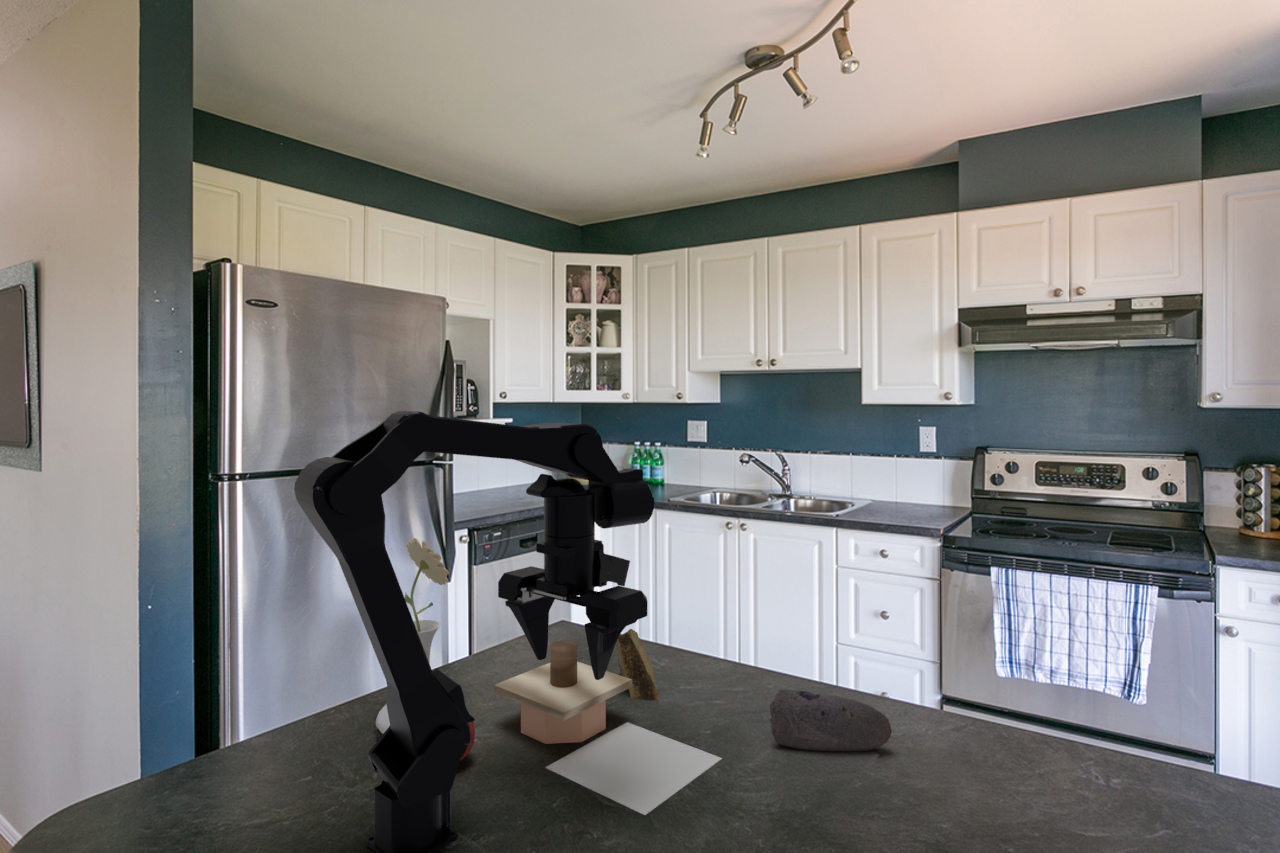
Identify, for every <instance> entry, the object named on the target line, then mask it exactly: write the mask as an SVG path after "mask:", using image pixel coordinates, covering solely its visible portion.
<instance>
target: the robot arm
mask: <svg viewBox="0 0 1280 853" xmlns="http://www.w3.org/2000/svg"><path fill="white" fill-rule="evenodd" d="M423 453H439V454H446V455H448V454H449V455H457V456H458V455H459V456H470V457H471V456H472V457H481V458H493V459H494V458H495V459H506V460H513V461H514V460H515V461H516V462H517V461H518V462H519V463H520V462H521V463H523V464H525V465H529V466H532V467H536V468H539V469H542V470H546V471H549V472H555V473H559V474H560V473H562V474H564V475H566V476H567V477H569V478H564V479H562V478H561V479H555V478H554V477H553V475H551V474H546V473H540V474H539V476H538V478H537V479H536V480H535V481H534V482H532V483H531V484H530V486H528V487H527V488H526V489H525V492H526V495H529V496H532V497H539V498H543V530H544V531H543V541H541V542H536V545H535V546H536V548H535V549H536V551H535V552H536V553H539V554H543V559H544V561H543V563H544V564H543V568H540V567H538V566H527V567H523V568H518V569H515V570H510V571H507V572H503V574H502V576H501V577H500V579H499V580H498V582H497V585H498V586H497V589H498V590H497V591H498V592H497V593H498V595H497V596H498V598H500V599H504V600H506V601H505V602H504V604H505V606H506V607H508V608H509V609H510V611H511V612H512V614H513V616H514V617H515V619H516V621H517V622H518V624H519V626H520V627H521V630H522V631H523V633H524V635H525V636H526V639H527V642H528V643H529V645H530V648H531V649H532V652H533V653H534V655H535V657H536V659H537V660H538V661H543V660H545V659H546V658H547V654H548V647H549V645H548V644H549V622H550V620H549V619H550V618H549V617H550V610H551V609H552V606H553V604H554V602H555V600H557V601H561V602H565V603H568V604H573V605H576V606H580V607H584V608H585V615H586V617H587V619H588V620H589V621H590V622H587V623H584V630H585V635H586V642H587V648H588V653H589V654H588V655H589V659H590V660H589V661H590V666H592V670H593V674H594V677H595V679H596V680H600V679H602V678H603V677H604V675H605V672H606V671H608V670H607V669H608V666H609V664H610V661H611V658H612V655H613V652H614V650H615V646H616V643H617V640H618V638H619V636H620V635H622V632H623V631H624V630H625V628H626V627H628V626H630V625H633V624H635V623H636V622H638V620H640V619H643V618H645V617H648V598H647V595H646V594H645V593H644V592H643V591H642V590H639V589H635V588H631V587H630V588H629V587H625V585H626V580H627V576H628V573H629V567H630V563H631V560H629V559H625V558H622V557H618V556H614V555H612V554H608V553H607V554H606V553H605V552H604V550H605V549H604V547H605V546H604V543H603V541H602V540H599V539H596V538H595V536H596V534H595V532H596V530H595V526H596V525H597V527H599V528H601V529H610V528H611V529H612V528H619V527H625V526H626V527H627V526H633V525H640V524H645V523H647V522H648V521H649V520H650V519H651V517H652V515H653V513H654V509H655V498H654V497H653V493H652V490H651V486H650V485H649V484H648V482H647V481H646V480H645V479H644V477H643V475H644V470H643V469H642V468H633V467H631V468H630V467H629V468H623V469H621V470H618V468H617V467H616V465H615V464H614V462H613V461H612V459H611V457H610V456H609V454H608V453H607V451H606V449H605V448H604V443H603V440H602V436H601V435H600V434H599V432H598V429H597V428H596V427H595V426H593V425H589V424H587V423H572V422H571V423H569V422H544V423H543V422H542V423H534V424H532V423H531V424H526V425H525V424H523V425H514V424H513V425H511V424H503V423H495V422H494V423H493V422H487V421H481V420H478V421H477V420H471V419H463V418H453V417H448V416H447V417H446V416H445V417H444V416H438V415H430V414H427V413H425V412H422V411H418V410H398V411H396V412H392V413H391V414H390V415H389V416H387V418H386V419H384V420H382V422H381V423H379V424H378V425H377V426H375V427H374V428H372V429H371V430H369V431H368V432H366V433H365V434H363V435H361V436H359V437H358V438H356V439H354V440H353V441H351V442H350V443H348V444H347V445H345V446H344V447H342V448H341V449H340V450H339V451H337V452H336V453H335V454H334V455H332V456H326V457H320V458H316V459H314V460H313V461H311V462H309V463H307V464H306V466H305V467H303V469H302V470H301V471H300V473H299V474H298V476H297V478H296V480H295V481H294V494H295V498H296V502H297V503H298V505H299V507H300V508H301V509H302V510H303V513H304V514H305V516H306V517H307V518H308V520H309V522H310V523H311V524H312V526H313V527H314V529H315V531H316V532H317V533H318V535H319V536H320V537H321V539H322V540H323V541H324V542H325V544H326V546H328V548H329V550H330V551H331V552H332V553H333V555H335V557H336V559H337V561H338V563H339V566H340V569H341V571H342V573H343V576H344V578H345V581H346V583H347V586H348V588H349V591H350V593H351V596H352V598H353V601H354V603H355V605H356V608H357V612H358V613H359V616H360V618H361V622H362V624H363V626H364V628H365V631H366V633H367V636H368V638H369V641H370V644H371V646H372V649H373V651H374V653H375V656H376V659H377V661H378V664H379V666H380V669H381V671H382V674H383V677H384V678H385V680H386V687H387V688H386V704H387V711H388V716H389V722H390V726H389V727H388V729H387V730H386V731H385V732H384V734H383V733H382V735H381V736H380V738H379V739H378V740H377V741H376V742H375V744H374V745H373V746H372V748H371V749H370V750H369V751H368V753H367V758H368V760H369V762H370V764H371V767H372V769H373V771H375V773H377V774H378V775H379V776H380V778H381V779H382V781H381V784H379V785H377V786H375V787H374V788H373V789H374V790H373V794H374V796H373V797H374V798H373V799H374V806H373V807H374V810H373V811H374V834H371V835H370V836H368V837H366V839H365V846H367V847H368V848H369V849H371V850H372V851H373V852H374V853H435V852H437V851H439V850H441V849H442V848H444V847H446V846H448V845H449V844H451V843H453V842H455V841H456V840H457V839H458V832H457V831H456V830H455V829H453V828H452V827H450V825H451V822H452V802H451V801H452V799H451V798H452V796H451V795H452V792H451V791H452V788H453V785H454V783H455V782H454V781H455V779H456V776H457V771H458V768H459V766H460V763H461V761H462V760H461V757H462V756H463V755H464V753H465V752H466V749H467V747H468V744H470V742H471V730H470V726H469V724H468V722H473V723H474V722H475V720H476V719H475V718H474V717H473V716H472V715H471V714H470V713H469V711H468V708H467V706H466V703H465V702H466V701H465V695H464V692H463V689H462V686H461V685H460V684H459V683H458V682H456V681H455V680H453V678H451V677H449V676H448V675H447V674H446V673H444V672H443V671H442V670H440V669H439V668H435V669H434V670H432V667H431V664H429V661H428V659H427V656H426V653H425V651H424V648H423V646H422V643H421V640H420V638H419V635H418V632H417V630H416V627H415V624H414V622H413V621H414V620H413V617H412V614H411V611H410V608H409V606H408V603H407V602H406V601H405V594H403V590H402V588H401V586H400V583H399V580H398V577H397V575H396V572H395V569H394V566H393V564H392V562H391V559H390V556H389V554H388V551H387V548H386V540H385V538H386V513H385V509H384V508H385V507H384V501H383V496H382V495H383V494H384V493H385V492H387V491H388V490H389V489H390V488H391V487H392V486H394V485H395V484H396V483H397V482H398V481H399V480H400V479H401V478H402V477H403V475H404V474H405V472H406V471H407V470H408V469H409V468H410V466H411V465H412V464H413V463H414V462H415V460H416V459H417V458H419V456H421V455H422V454H423ZM577 479H579V480H585V481H588V482H587V483H588V484H585V485H583V484H582V483H581V482H580V481H579V480H577ZM608 582H610V583H613V584H617V585H616V586H613V587H610V588H606V589H603V590H600V591H597V590H595V588H597V587H598V588H602V587H605V586H608ZM460 760H461V761H460Z"/></svg>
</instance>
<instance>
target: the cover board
mask: <svg viewBox="0 0 1280 853" xmlns="http://www.w3.org/2000/svg"><path fill="white" fill-rule="evenodd" d="M549 648H550V650H549V655H550V656H549V657H550V658H549V659H550V661H549V662H548V663H546V664H543V665H541V666H540V665H539V666H538V667H535V668H533V669H531V670H528V671H525V672H523V673H520V674H518V675H516V676H512V677H511V678H508V679H505V680H503V681H500V682H498V683H495V684H493V693H495V694H497V695H500V696H502V697H504V698H507V699H509V700H512V701H514V702H517V703H519V704H520V705H521V704H524V705H526V706H529V707H531V708H534V709H536V710H539V711H541V712H543V713H546V714H548V715H551V716H553V717H556V718H558V719H561V720H563V721H564V720H566V719H568V718H570V717H572V716H574V715H576V714H578V713H580V712H582V711H584V710H587V709H589V708H591V707H593V706H595V705H597V704H599V703H601V702H603V701H605V700H606V701H607V700H609V699H610V698H612V697H614V696H616V695H619V694H621V693H623V692H624V691H627V690H628V689H629V688H631V687H632V679H629V678H626V677H623V676H622V675H621V674H617V673H614V672H611V671H609V670H606V672H605V675H604V677H603V678H602V679H600V680H596V679H595V677H594V674H593V670H592V666H591V664H586V663H583V662H580V661H578V643H577V642H575V641H572V640H557V641H555V642H552V643H550V646H549Z"/></svg>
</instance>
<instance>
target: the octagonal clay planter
mask: <svg viewBox="0 0 1280 853" xmlns="http://www.w3.org/2000/svg"><path fill="white" fill-rule="evenodd" d="M606 705H607V700H605V701H603V702H601V703H599V704H597V705H595V706H593V707H591V708H589V709H587V710H584V711H582V712H580V713H578V714H576V715H574V716H572V717H570V718H568V719H566V720H564V721H563V720H561V719H558V718H556V717H553V716H551V715H548V714H546V713H543V712H541V711H539V710H536V709H534V708H531V707H529V706H526V705H524V704H521V703H520V734H523V735H524V736H527V737H529V738H531V739H534V740H536V741H538V742H540V743H543V744H545V745H546V744H548V745H549V744H551V745H552V744H570V743H572V744H573V743H583V742H584V741H587V740H588V739H590V738H592V737H593V736H596V735H597V734H599V733H600V732H603V731H605V730H606V729H607V727H606V726H607V724H606V723H607V721H606V720H607V718H606V715H607V709H606V708H607V706H606Z"/></svg>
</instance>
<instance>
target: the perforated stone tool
mask: <svg viewBox="0 0 1280 853" xmlns="http://www.w3.org/2000/svg"><path fill="white" fill-rule="evenodd" d="M769 709H770V711H769V712H770V716H771V718H769V722H770V724H771V726H770V728H771V729H770V730H771V734H772V736H773V739H774V740H775V742H776V743H777V744H778V745H780V746H781V747H787V748H792V749H798V750H803V751H804V750H805V751H810V750H811V751H818V752H819V751H820V752H823V751H825V752H865V751H873V750H877V749H878V748H880V747H883V746H884V744H887V743H888V741H889V739H890V738H891V734H892V726H891V723H890V720H889V719H888V717H887V716H886V715H885V714H884V713H882V712H881V711H879V710H878V709H876V708H875V707H873V706H871V705H868V704H866V703H864V702H861V701H858V700H856V699H851V698H847V697H842V696H837V695H833V694H827V693H823V692H817V693H816V692H810V691H807V690H791V689H790V690H789V689H779V690H778V693H776V695H775V698H774V700H773V701H771V702H770V704H769Z"/></svg>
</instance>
